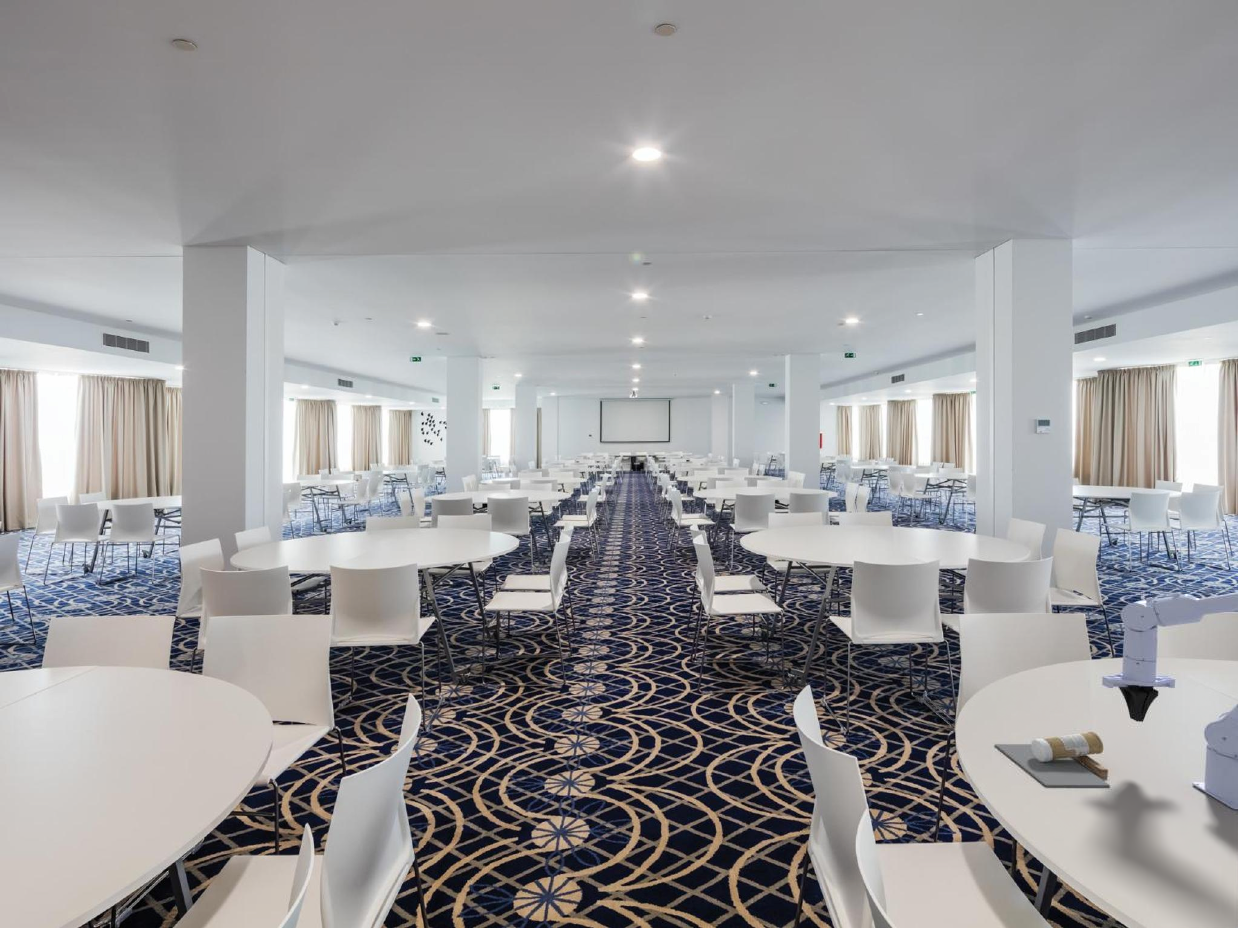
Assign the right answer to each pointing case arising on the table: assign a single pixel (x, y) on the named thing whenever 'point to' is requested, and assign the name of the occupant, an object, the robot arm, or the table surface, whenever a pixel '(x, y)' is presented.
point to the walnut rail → (1093, 765)
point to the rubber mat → (1051, 768)
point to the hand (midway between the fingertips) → (1136, 719)
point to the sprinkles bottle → (1067, 746)
